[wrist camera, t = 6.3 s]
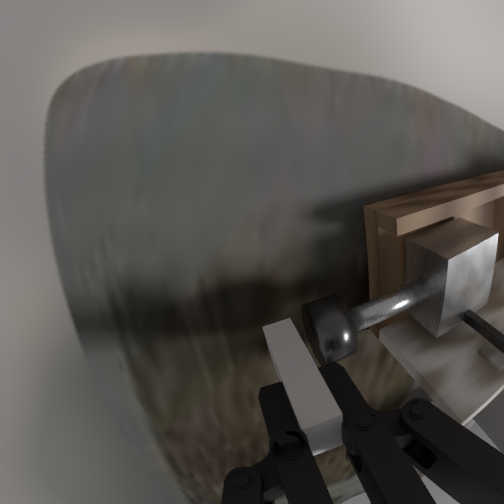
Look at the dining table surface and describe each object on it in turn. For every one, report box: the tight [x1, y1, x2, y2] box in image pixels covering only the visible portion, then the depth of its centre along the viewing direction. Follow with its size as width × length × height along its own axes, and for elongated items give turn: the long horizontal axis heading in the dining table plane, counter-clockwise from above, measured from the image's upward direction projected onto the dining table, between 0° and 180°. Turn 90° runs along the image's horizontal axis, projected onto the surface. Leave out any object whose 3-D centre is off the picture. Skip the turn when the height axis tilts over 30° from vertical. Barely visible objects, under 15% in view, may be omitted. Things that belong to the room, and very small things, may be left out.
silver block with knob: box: [302, 217, 504, 366], centre depth 12 cm, size 14×6×9 cm, turn 104°
